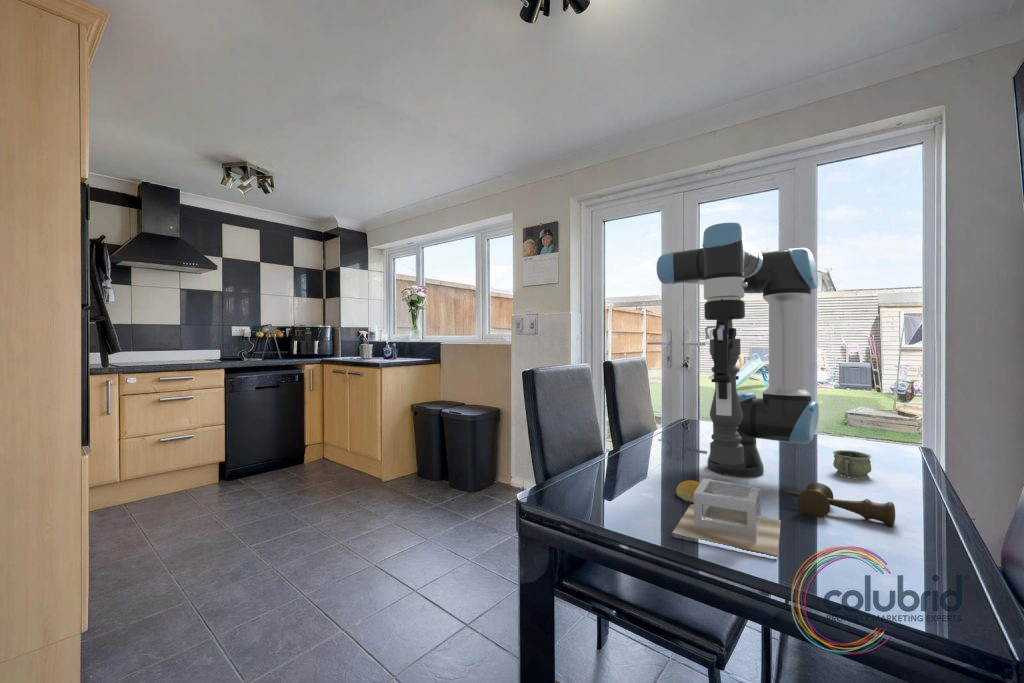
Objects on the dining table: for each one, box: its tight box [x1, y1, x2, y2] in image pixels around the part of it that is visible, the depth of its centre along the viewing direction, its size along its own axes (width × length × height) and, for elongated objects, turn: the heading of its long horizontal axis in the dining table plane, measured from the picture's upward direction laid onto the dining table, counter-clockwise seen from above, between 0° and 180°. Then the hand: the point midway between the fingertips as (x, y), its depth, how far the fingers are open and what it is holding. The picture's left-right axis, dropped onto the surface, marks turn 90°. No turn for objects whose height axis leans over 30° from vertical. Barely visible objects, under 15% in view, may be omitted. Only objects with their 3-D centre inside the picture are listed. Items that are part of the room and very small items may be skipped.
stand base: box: [671, 504, 782, 557], centre depth 91 cm, size 18×18×1 cm
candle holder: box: [709, 338, 744, 465], centre depth 91 cm, size 6×6×25 cm
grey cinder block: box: [693, 478, 762, 543], centre depth 91 cm, size 11×11×8 cm
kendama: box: [784, 482, 896, 528], centre depth 99 cm, size 6×10×20 cm
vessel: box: [832, 449, 872, 480], centre depth 127 cm, size 12×9×6 cm
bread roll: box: [675, 479, 715, 504], centre depth 111 cm, size 8×9×4 cm
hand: (726, 412), depth 91 cm, fingers closed on candle holder, 6 cm apart
